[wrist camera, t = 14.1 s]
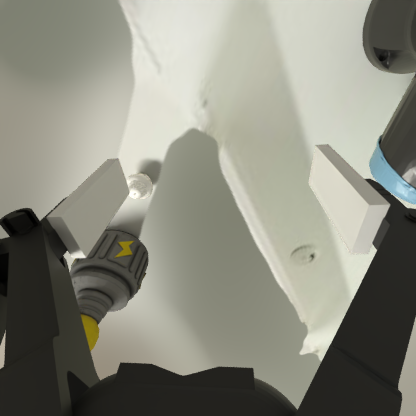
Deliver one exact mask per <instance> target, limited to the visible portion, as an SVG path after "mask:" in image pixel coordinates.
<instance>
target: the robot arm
mask: <svg viewBox="0 0 416 416" xmlns="http://www.w3.org/2000/svg"><path fill="white" fill-rule="evenodd" d="M363 46H364V51H365V54H366V56H367V58H368V60H369V61H370V62H371V63H372V65H374V66H375V67H376V68H378V69H379V70H382V71H385V72H389V73H396V74H407V73H413V72H416V0H372V2H371V4H370V7H369V9H368V12H367V15H366V18H365V22H364V28H363ZM369 167H370V170H371V174H372V175H373V177H374V178H375V180H376V181H377V182H376V181H374V180H371V179H364V178H362V177H361V176H360V175H359V174H358V173H357V172H356V171H355V170H354V169H353V168H352V167H351V166H350V165H349V164H348V163H347V162H346V161H345V160H344V159H343V158H342V157H341V156H340V155H339V154H338V153H337V152H336V151H335V150H333V149H332V148H331V147H330V146H329V145H328V144H327V145H315V150H314V156H313V161H312V167H311V172H310V178H309V183H308V184H309V185H310V187H311V189H312V190H313V192H314V194H315V195H316V197H317V199H318V200H319V202H320V204H321V205H322V207H323V209H324V210H325V212H326V214H327V216H328V217H329V219H330V221H331V222H332V224H333V226H334V227H335V229H336V231H337V232H338V234H339V236H340V237H341V239H342V241H343V242H344V244H345V246H346V248H347V249H348V251H349V253H350V254H368V253H369V251H370V249H371V247H372V245H374V247H375V248H376V249H377V252H376V254H375V256H374V258H373V260H372V262H371V264H370V266H369V268H368V270H367V272H366V274H365V276H364V278H363V280H362V282H361V284H360V286H359V288H358V290H357V292H356V294H355V296H354V298H353V300H352V302H351V304H350V307H349V309H348V311H347V313H346V315H345V317H344V319H343V321H342V323H341V325H340V327H339V329H338V331H337V333H336V335H335V337H334V339H333V341H332V343H331V344H330V346H329V348H328V350H327V352H326V354H325V356H324V358H323V360H322V362H321V364H320V366H319V368H318V370H317V372H316V374H315V376H314V378H313V380H312V382H311V384H310V386H309V388H308V390H307V392H306V394H305V396H304V399H303V401H302V402H301V404H300V406H299V408H298V410H297V409H296V408H295V406H294V405H293V404H292V403H291V402H290V401H289V400H288V399H287V398H286V397H285V396H284V395H283V394H282V393H280V392H279V391H278V390H277V389H275V388H274V387H272V386H271V385H269V384H267V383H265V382H263V381H261V380H259V379H256V378H254V372H253V368H237V367H216V368H212V369H208V370H205V371H201V372H198V373H193V374H190V375H185V376H182V375H179V374H176V373H173V372H171V371H168V370H166V369H163V368H160V367H158V366H155V365H153V364H141V363H120V365H119V368H118V371H117V373H116V374H113V375H111V376H108V377H106V378H104V379H102V380H101V381H100V379H99V377H98V376H97V373H96V371H95V367H94V363H93V360H92V356H91V352H90V348H89V344H88V341H87V337H86V333H85V329H84V325H83V322H82V318H81V314H80V310H79V306H78V303H77V299H76V295H75V291H74V288H73V284H72V280H71V276H70V272H69V269H68V265H67V261H66V259H65V258H64V256H63V255H64V254H65V253H66V251H67V250H68V252H69V253H70V255H71V256H72V258H86V257H87V256H88V254H89V253H90V251H91V250H92V248H93V247H94V245H95V244H96V242H97V241H98V239H99V238H100V236H101V235H102V233H103V232H104V230H105V229H106V227H107V226H108V224H109V223H110V221H111V220H112V218H113V217H114V215H115V214H116V212H117V211H118V209H119V208H120V206H121V205H122V204H123V202H124V201H125V199H126V198H127V196H128V195H129V193H130V190H129V188H128V185H127V182H126V179H125V176H124V173H123V170H122V167H121V165H120V162H119V159H118V158H117V159H108V160H107V161H106V162H104V163H103V164H102V165H101V166H100V167H99V168H98V169H97V170H96V171H95V172H94V173H93V174H92V175H91V176H90V177H88V178H87V179H86V180H85V181H84V182H83V183H82V184H81V185H80V186H79V187H78V188H77V189H76V190H75V191H74V192H73V193H72V194H70V195H69V196H68V197H66V198H65V199H63V200H62V201H61V202H60V203H59V204H58V205H57V206H56V207H55V208H54V210H51V212H49V213H48V214H47V215H46V216H45V217H44V218H43V219H42V220H41V221H39V219H38V218H37V217H36V215H35V214H34V212H33V211H32V209H30V208H23V209H19V210H16V211H13V212H11V213H9V214H7V215H5V216H4V217H3V218H2V219H0V225H1V226H2V227H3V229H4V230H5V231H6V232H7V234H8V235H9V236H10V237H8V238H3V239H0V345H1V342H2V339H3V336H4V333H5V330H6V338H5V361H4V367H3V368H1V369H0V416H399V413H400V408H401V402H402V393H401V392H400V391H399V390H398V383H399V378H400V375H401V371H402V367H403V363H404V359H405V355H406V352H407V348H408V344H409V340H410V336H411V332H412V329H413V325H414V321H415V317H416V209H412V208H406V207H405V206H404V205H403V204H402V203H401V202H400V201H399V200H398V199H396V198H395V197H394V196H393V195H391V193H392V194H394V195H395V196H397V197H399V198H401V199H403V200H405V201H407V202H409V203H412V204H416V74H415V76H414V78H413V79H412V81H411V83H410V85H409V87H408V88H407V90H406V92H405V94H404V96H403V98H402V99H401V101H400V103H399V105H398V107H397V109H396V110H395V112H394V114H393V116H392V118H391V119H390V121H389V123H388V125H387V127H386V129H385V130H384V132H383V134H382V135H381V136H380V137H379V139H378V141H377V146H376V149H375V151H374V153H373V155H372V157H371V159H370V162H369ZM390 192H391V193H390Z"/></svg>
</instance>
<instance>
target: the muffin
mask: <svg viewBox="0 0 416 416" xmlns="http://www.w3.org/2000/svg"><path fill="white" fill-rule="evenodd" d="M126 182H127V185H128V188H129V190H130V193H129V195H130V196H131V197H133V198H136V199H144V198H147V197H149V196H150V195H151V193H152V190H153V185H152V182H151V179H150V178H149V176H148V175H146V174H134V175H131V176H129V177H128V178H127V180H126Z"/></svg>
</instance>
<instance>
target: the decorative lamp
mask: <svg viewBox="0 0 416 416" xmlns="http://www.w3.org/2000/svg"><path fill="white" fill-rule="evenodd" d="M147 266H148V252H147V250H146V247H145V246H144V245H143V244H142V243H141V242H140V240H138V239H137V238H135V237H134V236H132V235H130V234H127V233H125V232H121V231H115V230H110V231H104V232H103V233H102V235H101V236H100V238H99V239H98V241H97V242H96V244H95V245H94V247H93V248H92V250H91V251H90V253H89V254H88V256H87V257H86V258H75V260H74V262H73V263H72V265H71V271H70V276H71V280H72V284H73V288H74V291H75V295H76V299H77V303H78V306H79V310H80V314H81V318H82V322H83V325H84V329H85V333H86V337H87V341H88V344H89V348H90V351H91V350H92V349H93V348H94V346H95V344H96V342H97V339H98V337H99V328H98V324H99V323H100V321H101V319H102V318H104V317H105V315H106V314H107V312H112V311H118V310H121V309H122V308H124V307H125V306H126V305H127V303H128V301H129V300H130V299H132V298H133V297H134V295H135V294H136V293H137V292H138V290H139V289H140V286H141V283H142V280H143V278H144V276H145V275H146V273H145V271H146V269H147Z"/></svg>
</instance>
